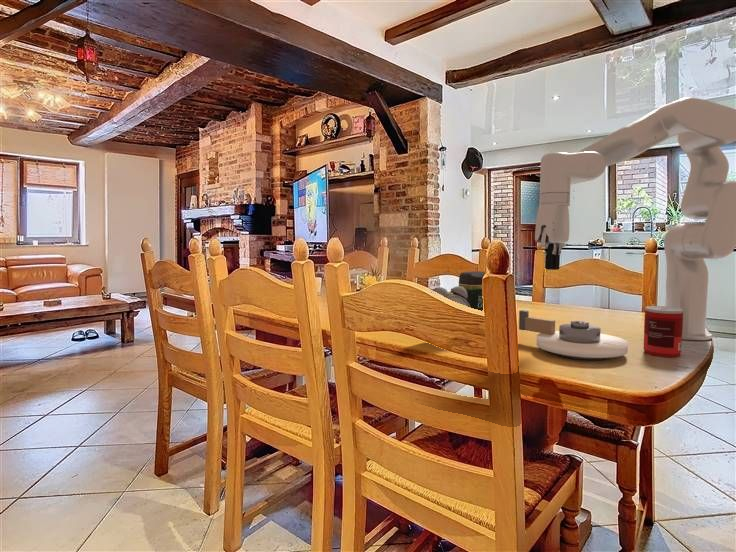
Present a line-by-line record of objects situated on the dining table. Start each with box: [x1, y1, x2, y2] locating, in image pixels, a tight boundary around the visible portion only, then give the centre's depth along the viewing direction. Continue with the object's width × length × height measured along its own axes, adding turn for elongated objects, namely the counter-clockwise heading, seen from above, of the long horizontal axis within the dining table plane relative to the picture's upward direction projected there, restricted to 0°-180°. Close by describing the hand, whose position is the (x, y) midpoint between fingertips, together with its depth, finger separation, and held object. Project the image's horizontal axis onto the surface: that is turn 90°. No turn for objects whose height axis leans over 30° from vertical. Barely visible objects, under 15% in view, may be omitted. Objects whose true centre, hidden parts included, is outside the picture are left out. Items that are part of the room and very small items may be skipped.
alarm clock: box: [432, 285, 470, 307], centre depth 124 cm, size 12×7×15 cm, turn 110°
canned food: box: [643, 305, 683, 358], centre depth 108 cm, size 8×8×11 cm
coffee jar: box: [458, 270, 486, 311], centre depth 131 cm, size 10×8×19 cm
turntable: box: [518, 309, 629, 359], centre depth 112 cm, size 20×27×7 cm
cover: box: [558, 320, 602, 344], centre depth 109 cm, size 9×9×4 cm
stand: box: [550, 352, 613, 361], centre depth 110 cm, size 14×14×1 cm
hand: (552, 269), depth 121 cm, fingers closed
